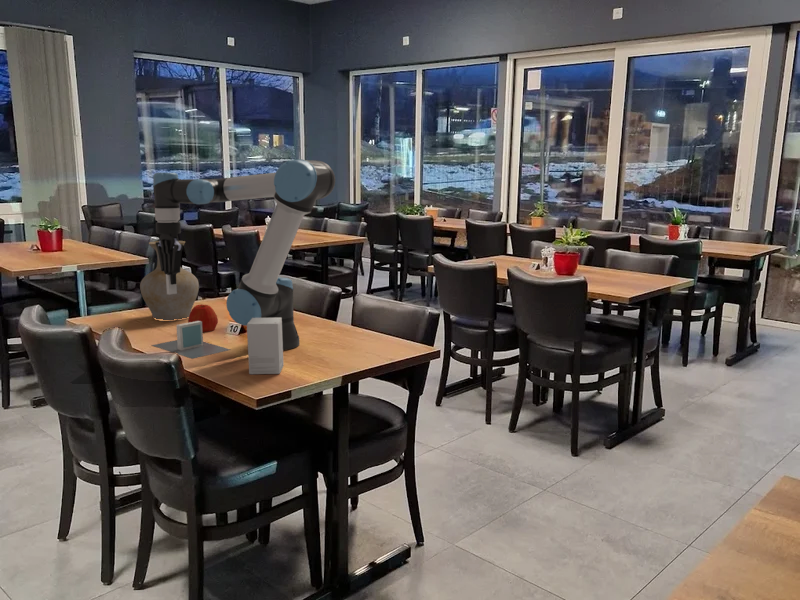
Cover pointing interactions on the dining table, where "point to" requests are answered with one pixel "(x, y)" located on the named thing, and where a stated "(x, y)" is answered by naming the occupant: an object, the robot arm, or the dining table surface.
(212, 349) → the slate board
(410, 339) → the dining table surface
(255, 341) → the supplement box
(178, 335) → the tile
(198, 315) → the apple
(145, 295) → the vase
